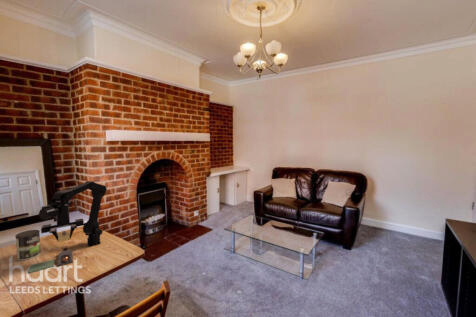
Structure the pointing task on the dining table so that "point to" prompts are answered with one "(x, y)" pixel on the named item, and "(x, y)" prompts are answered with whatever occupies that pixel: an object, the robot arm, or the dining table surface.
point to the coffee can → (28, 245)
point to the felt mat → (41, 266)
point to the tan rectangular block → (63, 236)
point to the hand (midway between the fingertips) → (64, 239)
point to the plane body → (65, 257)
